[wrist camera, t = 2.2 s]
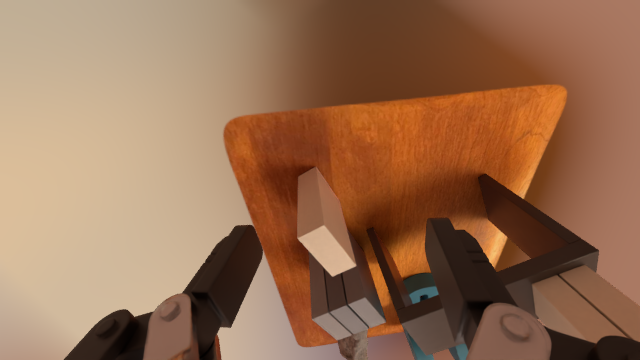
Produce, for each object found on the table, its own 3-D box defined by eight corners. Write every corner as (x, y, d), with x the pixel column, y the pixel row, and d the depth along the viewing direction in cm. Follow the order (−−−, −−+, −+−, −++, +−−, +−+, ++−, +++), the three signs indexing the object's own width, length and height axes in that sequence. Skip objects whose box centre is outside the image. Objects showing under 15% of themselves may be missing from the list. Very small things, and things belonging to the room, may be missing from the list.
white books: (584, 264, 22) (837, 455, 12) (582, 298, 25) (776, 470, 15) (531, 283, 23) (720, 475, 13) (535, 314, 26) (687, 486, 16)
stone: (329, 300, 47) (336, 356, 39) (361, 294, 47) (375, 350, 39) (335, 323, 52) (342, 378, 43) (364, 318, 52) (377, 372, 43)
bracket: (445, 313, 54) (474, 367, 45) (401, 324, 55) (422, 379, 46) (443, 267, 45) (479, 323, 36) (391, 281, 46) (414, 338, 37)
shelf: (485, 173, 34) (599, 250, 21) (495, 216, 39) (592, 300, 26) (366, 230, 38) (400, 324, 25) (388, 262, 43) (426, 356, 30)
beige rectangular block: (316, 166, 31) (324, 224, 21) (339, 200, 34) (356, 266, 24) (297, 176, 32) (297, 238, 21) (322, 209, 35) (332, 276, 25)
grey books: (347, 228, 37) (365, 297, 27) (364, 252, 41) (386, 322, 30) (308, 247, 39) (311, 319, 29) (328, 269, 42) (337, 340, 32)
